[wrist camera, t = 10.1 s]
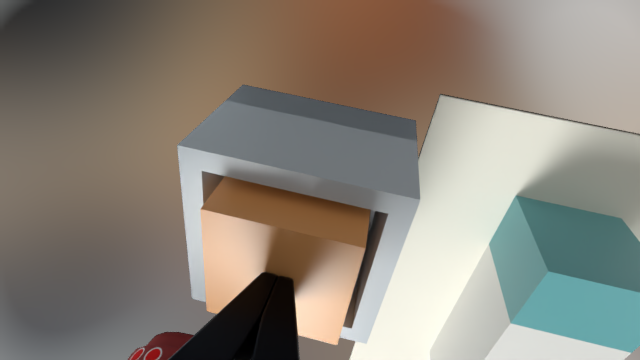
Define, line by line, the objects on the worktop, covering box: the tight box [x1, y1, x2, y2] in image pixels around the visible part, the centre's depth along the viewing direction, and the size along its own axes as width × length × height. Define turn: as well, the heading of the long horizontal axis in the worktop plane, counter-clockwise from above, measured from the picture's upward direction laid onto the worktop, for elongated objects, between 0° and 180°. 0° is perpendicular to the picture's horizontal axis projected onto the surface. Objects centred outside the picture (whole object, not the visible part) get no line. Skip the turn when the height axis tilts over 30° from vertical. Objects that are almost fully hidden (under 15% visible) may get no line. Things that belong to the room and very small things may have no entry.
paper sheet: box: [349, 94, 640, 360], centre depth 16 cm, size 16×11×1 cm
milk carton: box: [430, 195, 640, 360], centre depth 14 cm, size 10×4×4 cm, turn 172°
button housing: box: [177, 85, 420, 344], centre depth 12 cm, size 6×6×4 cm
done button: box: [200, 176, 370, 345], centre depth 11 cm, size 4×4×3 cm
